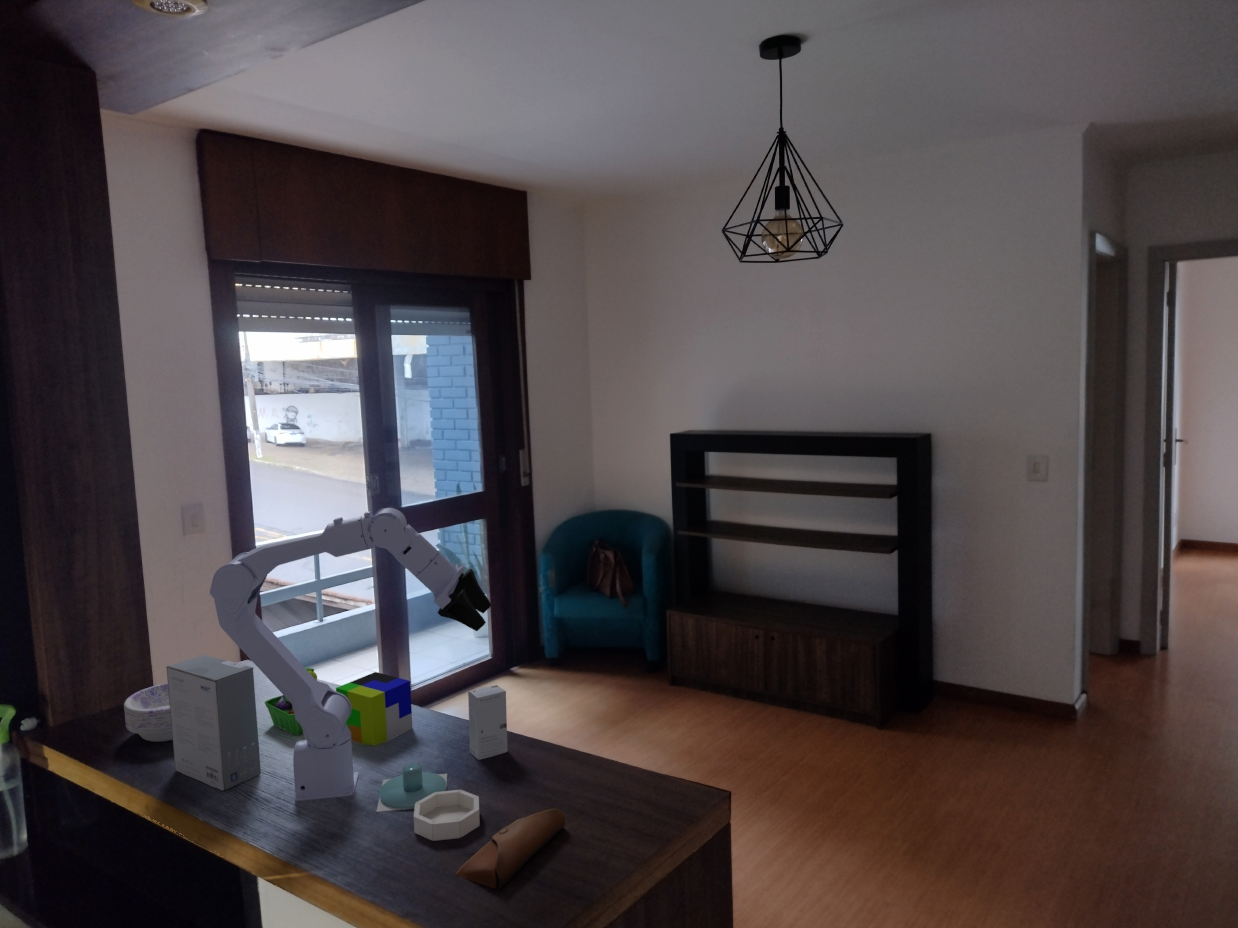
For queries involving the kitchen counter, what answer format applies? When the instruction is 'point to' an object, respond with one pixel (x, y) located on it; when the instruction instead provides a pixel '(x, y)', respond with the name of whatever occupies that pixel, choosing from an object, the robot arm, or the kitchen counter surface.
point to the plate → (383, 807)
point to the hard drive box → (214, 720)
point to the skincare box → (487, 721)
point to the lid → (411, 787)
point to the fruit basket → (285, 712)
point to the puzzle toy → (378, 708)
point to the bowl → (446, 815)
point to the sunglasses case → (511, 848)
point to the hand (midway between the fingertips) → (484, 617)
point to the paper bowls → (150, 713)
